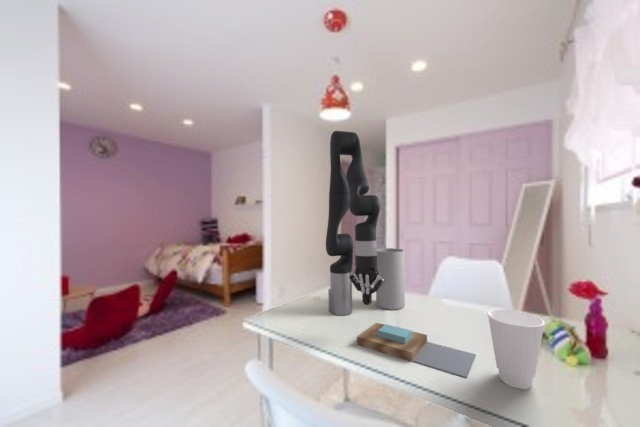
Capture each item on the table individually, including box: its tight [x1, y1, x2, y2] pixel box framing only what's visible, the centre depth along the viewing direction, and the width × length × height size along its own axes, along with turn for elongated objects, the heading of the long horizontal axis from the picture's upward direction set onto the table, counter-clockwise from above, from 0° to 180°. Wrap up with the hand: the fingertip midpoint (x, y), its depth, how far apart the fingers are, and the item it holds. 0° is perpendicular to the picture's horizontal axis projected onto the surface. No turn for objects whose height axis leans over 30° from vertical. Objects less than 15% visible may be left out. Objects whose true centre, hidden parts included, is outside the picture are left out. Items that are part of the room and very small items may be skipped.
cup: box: [487, 308, 546, 390], centre depth 72 cm, size 12×12×16 cm
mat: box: [411, 341, 477, 379], centre depth 83 cm, size 14×14×1 cm
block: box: [356, 322, 428, 362], centre depth 92 cm, size 18×14×2 cm
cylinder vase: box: [375, 247, 406, 311], centre depth 128 cm, size 12×12×25 cm
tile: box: [378, 323, 413, 344], centre depth 92 cm, size 9×6×2 cm, turn 53°
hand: (367, 304), depth 97 cm, fingers closed
